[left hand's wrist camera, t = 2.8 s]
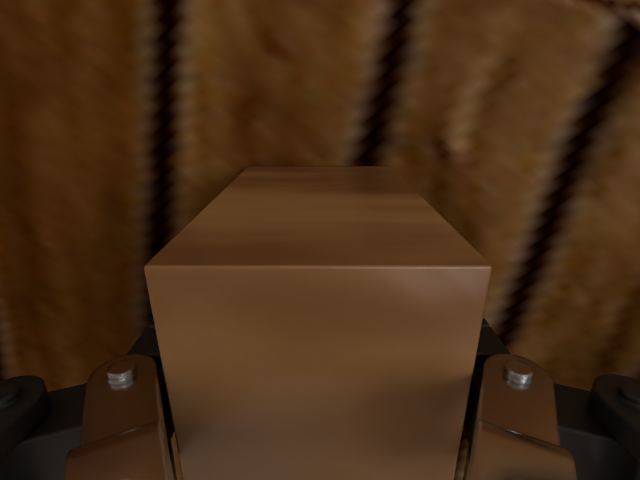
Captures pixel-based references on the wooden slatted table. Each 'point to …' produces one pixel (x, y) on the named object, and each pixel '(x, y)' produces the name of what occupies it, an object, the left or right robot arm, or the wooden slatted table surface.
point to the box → (318, 329)
